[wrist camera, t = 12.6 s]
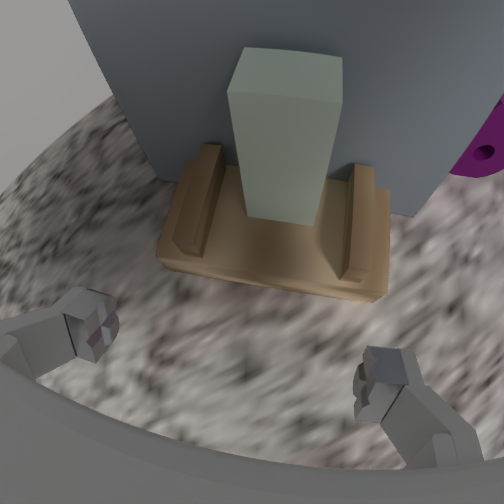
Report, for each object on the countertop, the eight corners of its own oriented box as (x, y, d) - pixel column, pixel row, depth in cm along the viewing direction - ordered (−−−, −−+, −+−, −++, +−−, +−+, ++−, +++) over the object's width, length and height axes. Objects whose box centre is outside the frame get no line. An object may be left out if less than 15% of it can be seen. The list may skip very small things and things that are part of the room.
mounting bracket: (488, 149, 31) (398, 81, 25) (533, 120, 24) (454, 30, 18) (509, 213, 28) (424, 157, 22) (562, 186, 21) (502, 102, 14)
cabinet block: (317, 184, 20) (342, 57, 11) (312, 226, 19) (342, 104, 10) (256, 175, 20) (244, 47, 11) (247, 216, 20) (227, 91, 10)
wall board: (409, 165, 24) (497, -21, 7) (413, 217, 22) (541, 22, 5) (178, 133, 26) (112, -56, 9) (159, 180, 24) (58, -22, 8)
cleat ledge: (377, 210, 22) (401, 169, 17) (372, 303, 20) (403, 281, 15) (194, 183, 24) (176, 138, 19) (169, 269, 22) (140, 239, 17)
